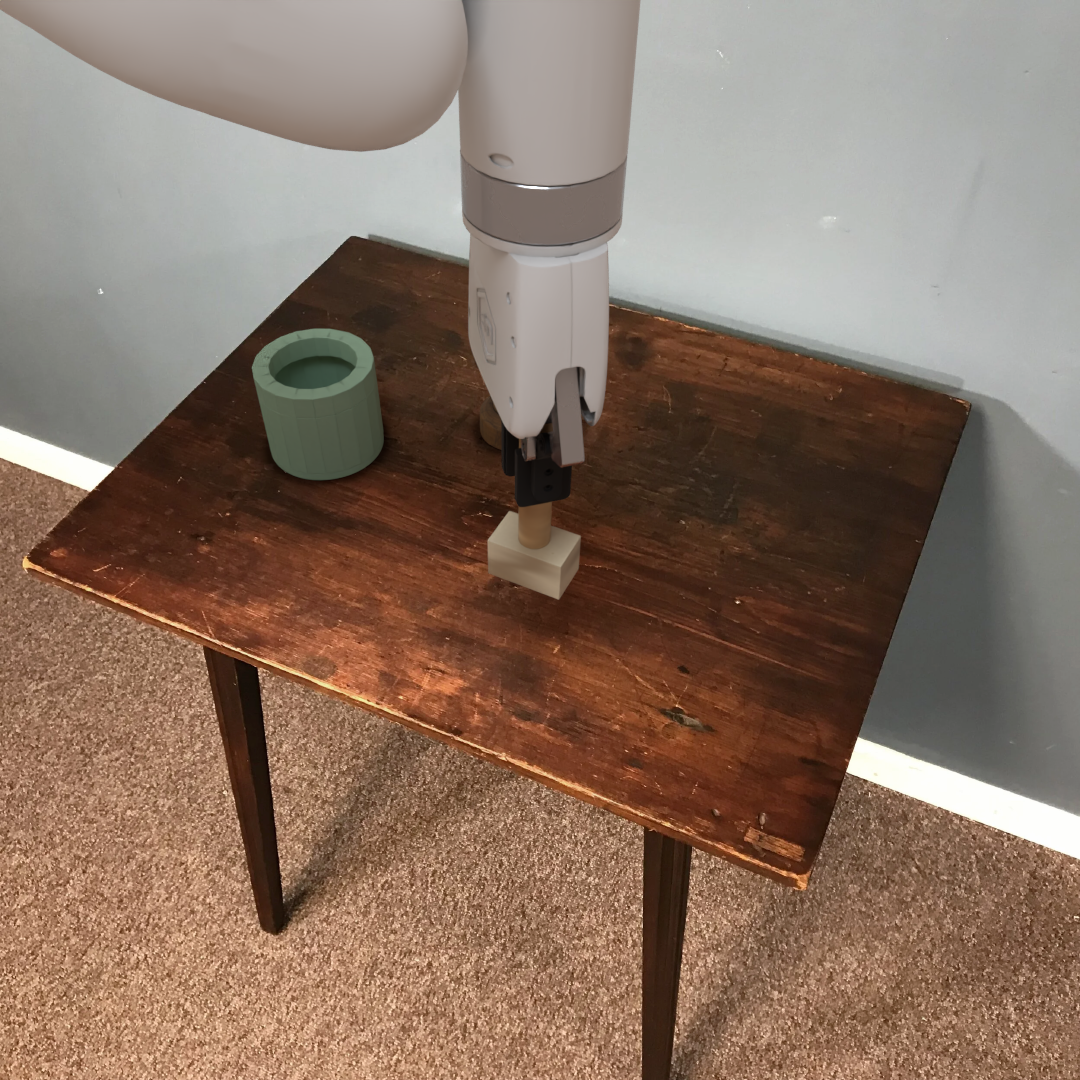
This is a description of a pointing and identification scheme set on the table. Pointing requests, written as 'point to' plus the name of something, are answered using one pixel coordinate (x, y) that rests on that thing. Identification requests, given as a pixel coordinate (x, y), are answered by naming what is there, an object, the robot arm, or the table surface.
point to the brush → (534, 549)
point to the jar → (319, 403)
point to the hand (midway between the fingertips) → (535, 482)
